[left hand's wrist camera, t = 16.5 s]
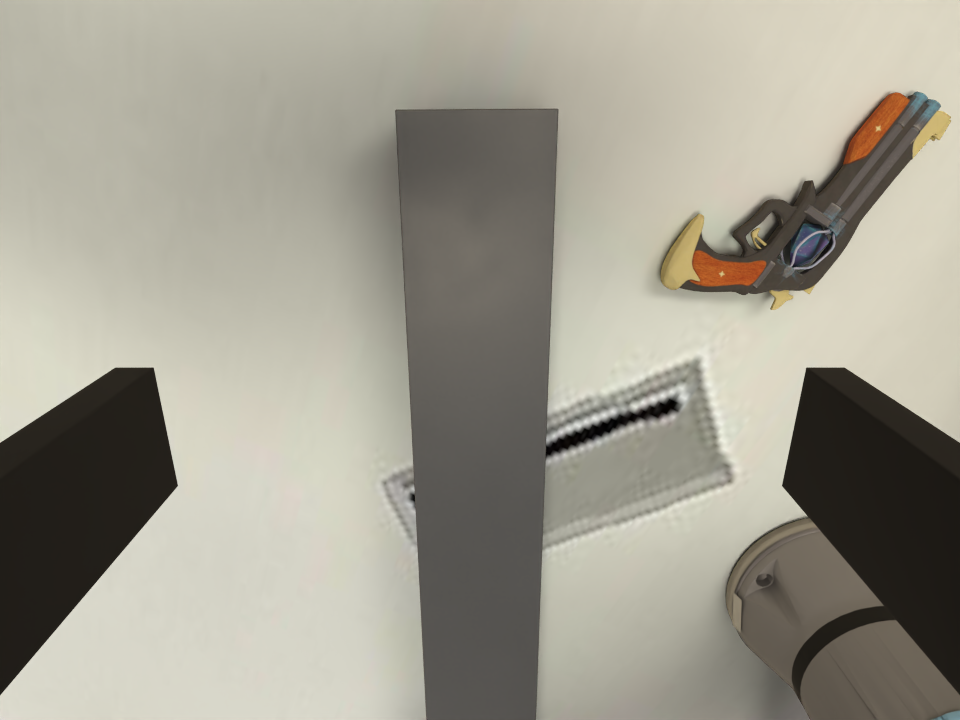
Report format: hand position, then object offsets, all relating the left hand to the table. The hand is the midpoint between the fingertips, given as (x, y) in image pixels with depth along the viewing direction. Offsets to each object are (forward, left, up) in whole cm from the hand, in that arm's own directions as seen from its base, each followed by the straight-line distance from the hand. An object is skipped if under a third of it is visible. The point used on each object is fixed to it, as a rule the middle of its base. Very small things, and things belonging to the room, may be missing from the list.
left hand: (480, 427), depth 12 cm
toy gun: (+8, +20, -33) cm, 39 cm away
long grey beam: (+22, -10, -33) cm, 41 cm away
